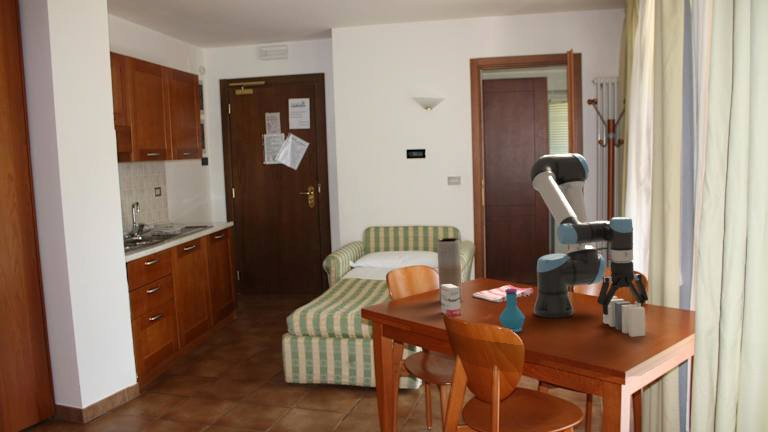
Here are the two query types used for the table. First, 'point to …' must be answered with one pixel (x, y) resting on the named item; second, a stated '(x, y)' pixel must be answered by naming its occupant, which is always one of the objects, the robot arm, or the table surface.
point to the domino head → (604, 314)
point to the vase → (449, 263)
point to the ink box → (450, 299)
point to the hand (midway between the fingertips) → (623, 321)
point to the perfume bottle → (512, 312)
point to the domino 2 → (619, 314)
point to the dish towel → (501, 293)
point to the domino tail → (636, 321)
